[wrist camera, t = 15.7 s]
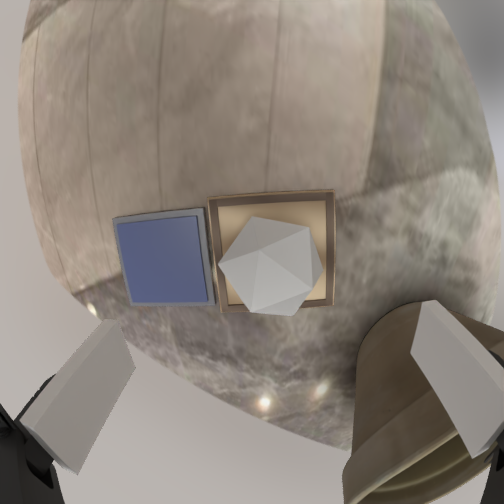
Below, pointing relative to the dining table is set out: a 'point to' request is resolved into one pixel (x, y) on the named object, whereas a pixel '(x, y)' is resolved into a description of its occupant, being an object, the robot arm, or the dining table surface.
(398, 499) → the plant pot
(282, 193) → the board
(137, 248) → the ink pad
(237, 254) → the die
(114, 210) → the dining table surface
